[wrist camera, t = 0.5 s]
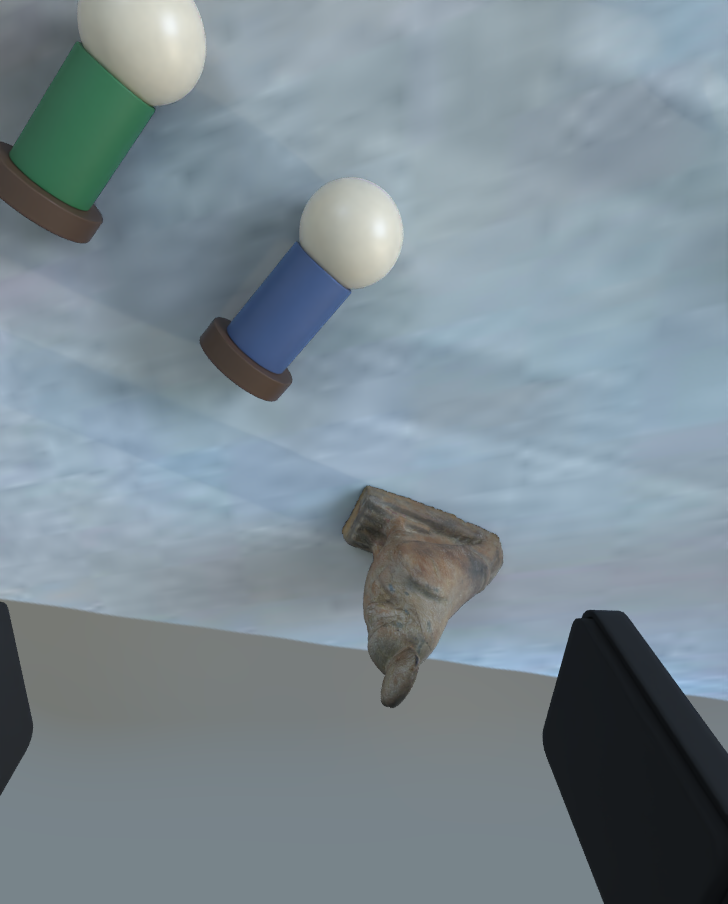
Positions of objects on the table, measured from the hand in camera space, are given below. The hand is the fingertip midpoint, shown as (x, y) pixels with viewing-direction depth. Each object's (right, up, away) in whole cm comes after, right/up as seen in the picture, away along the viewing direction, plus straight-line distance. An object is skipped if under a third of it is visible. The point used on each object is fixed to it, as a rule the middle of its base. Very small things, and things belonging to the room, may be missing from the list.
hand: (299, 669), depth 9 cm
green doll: (-12, +22, +20) cm, 32 cm away
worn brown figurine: (+6, -3, +32) cm, 33 cm away
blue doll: (-2, +14, +24) cm, 28 cm away
